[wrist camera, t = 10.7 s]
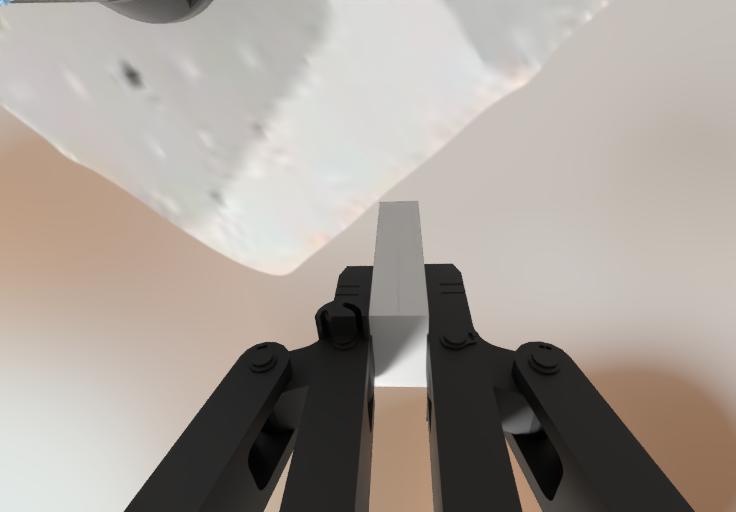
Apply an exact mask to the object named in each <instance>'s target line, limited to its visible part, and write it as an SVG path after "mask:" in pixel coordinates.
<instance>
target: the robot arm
mask: <svg viewBox="0 0 736 512" xmlns="http://www.w3.org/2000/svg"><path fill="white" fill-rule="evenodd" d="M212 1H213V0H0V6H1V5H7V4H8V3H59V2H99V3H101V4H103V5H105V6H106V7H108V8H110V9H112V10H114V11H116V12H117V13H119V14H122V15H124V16H126V17H128V18H131V19H134V20H137V21H141V22H146V23H153V24H166V23H175V22H181V21H185V20H188V19H190V18H192V17H194V16H196V15H198V14H199V13H201V12H202V11H203V10H204V9H206V8H207V7H208V6H209V5H210V4H211V2H212ZM315 320H316V326H317V331H318V336H319V340H318V341H317V342H315V343H314V344H312V345H310V346H307V347H304V348H300V349H297V350H292V351H288V350H287V349H286V348H285V347H284V345H281V344H279V343H276V342H264V343H261V344H256V345H255V346H253V347H251V348H249V349H247V350H246V351H245V353H243V354H242V355H241V356H240V357H239V359H238V360H237V362H236V363H235V364H234V365H233V367H232V368H231V369H230V371H229V372H228V374H227V375H226V376H225V377H224V379H223V380H222V381H221V383H220V384H219V386H218V387H217V388H216V389H215V391H214V392H213V393H212V395H211V396H210V397H209V399H208V400H207V401H206V403H205V404H204V405H203V407H202V408H201V409H200V411H199V412H198V413H197V415H196V416H195V417H194V419H193V420H192V421H191V423H190V424H189V425H188V427H187V428H186V429H185V431H184V432H183V433H182V435H181V436H180V437H179V439H178V440H177V442H176V443H175V444H174V445H173V447H172V448H171V449H170V451H169V452H168V454H167V455H166V456H165V457H164V459H163V460H162V461H161V463H160V464H159V465H158V467H157V468H156V469H155V471H154V472H153V473H152V475H151V476H150V477H149V479H148V480H147V481H146V483H145V484H144V485H143V487H142V488H141V489H140V491H139V492H138V493H137V495H136V496H135V497H134V499H133V500H132V501H131V503H130V504H129V505H128V507H127V508H126V509H125V511H124V512H264V510H265V508H266V506H267V503H268V501H269V499H270V497H271V495H272V493H273V491H274V489H275V487H276V485H277V483H278V481H279V478H280V477H281V474H282V472H283V470H284V468H285V466H286V464H287V462H288V460H289V458H290V456H291V454H292V452H293V455H292V460H291V464H290V468H289V472H288V476H287V481H286V485H285V490H284V494H283V498H282V502H281V507H280V511H279V512H369V495H370V478H371V461H372V460H371V459H372V443H373V425H374V407H375V400H374V383H375V386H394V387H399V386H400V387H427V419H426V420H427V421H428V428H429V443H430V457H431V458H430V459H431V474H432V489H433V504H434V512H522V508H521V504H520V500H519V495H518V491H517V487H516V483H515V478H514V474H513V470H512V466H511V462H510V457H509V453H508V449H507V445H506V441H505V438H506V439H507V441H508V443H509V446H510V448H511V450H512V452H513V453H514V455H515V458H516V459H517V461H518V464H519V466H520V467H521V469H522V471H523V473H524V475H525V477H526V479H527V481H528V483H529V485H530V487H531V489H532V491H533V493H534V495H535V497H536V499H537V501H538V503H539V505H540V507H541V509H542V511H543V512H695V511H694V510H693V509H692V507H691V506H690V505H689V504H688V503H687V501H686V500H685V499H684V498H683V496H682V495H681V494H680V493H679V491H678V490H677V489H676V488H675V486H674V485H673V484H672V483H671V482H670V480H669V479H668V478H667V477H666V475H665V474H664V473H663V471H662V470H661V469H660V468H659V467H658V465H657V464H656V463H655V462H654V460H653V459H652V458H651V457H650V456H649V454H648V453H647V452H646V450H645V449H644V448H643V447H642V446H641V444H640V443H639V442H638V440H636V438H635V437H634V436H633V434H632V433H631V432H630V431H629V429H628V428H627V427H626V426H625V424H624V423H623V422H622V421H621V419H620V418H619V417H618V416H617V414H616V413H615V412H614V411H613V409H612V408H611V407H610V406H609V404H608V403H607V402H606V401H605V400H604V398H603V397H602V396H601V395H600V394H599V392H598V391H597V390H596V388H595V387H594V386H593V385H592V383H591V382H590V381H589V380H588V378H587V377H586V376H585V375H584V373H583V372H582V371H581V370H580V368H579V367H578V366H577V365H576V364H575V363H574V361H573V360H572V359H571V357H569V355H567V354H566V353H565V352H564V351H563V350H562V349H560V348H558V347H556V346H554V345H552V344H548V343H544V342H528V343H525V344H523V345H521V346H520V347H519V348H518V349H517V350H516V351H512V350H508V349H504V348H500V347H497V346H494V345H492V344H489V343H488V342H486V341H484V340H483V339H482V338H481V337H480V336H479V334H478V333H477V332H476V331H475V329H474V327H473V323H472V319H471V315H470V310H469V306H468V302H467V297H466V294H465V289H464V285H463V279H462V275H461V272H460V271H459V270H458V269H457V268H456V267H455V266H454V265H453V264H424V258H423V247H422V236H421V226H420V215H419V206H418V201H399V202H380V205H379V215H378V226H377V237H376V246H375V256H374V266H347V268H345V270H344V271H343V272H342V273H341V274H340V275H339V279H338V284H337V288H336V293H335V298H334V301H332V302H330V303H327V304H325V305H324V306H322V307H321V308H320V309H319V310H318V311H317V313H316V315H315ZM293 450H294V451H293Z"/></svg>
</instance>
